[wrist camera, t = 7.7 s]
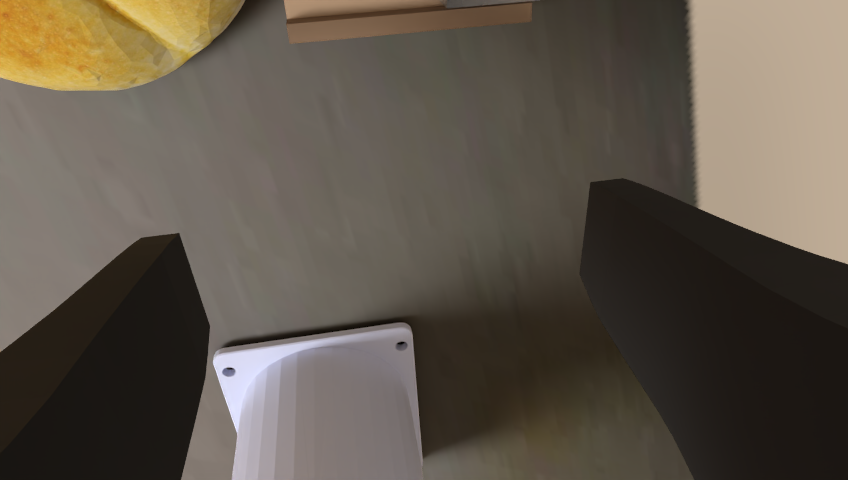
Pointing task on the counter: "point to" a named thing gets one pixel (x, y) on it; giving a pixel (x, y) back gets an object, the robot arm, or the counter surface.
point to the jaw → (476, 2)
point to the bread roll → (105, 40)
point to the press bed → (390, 17)
